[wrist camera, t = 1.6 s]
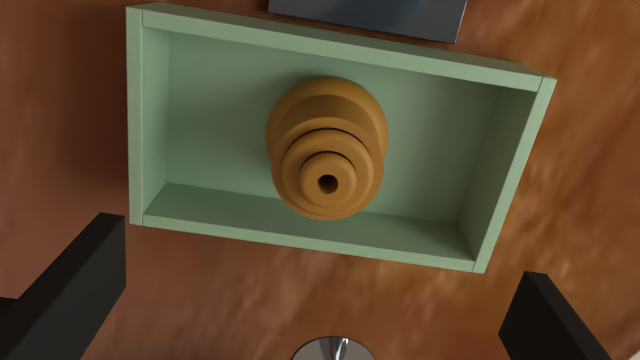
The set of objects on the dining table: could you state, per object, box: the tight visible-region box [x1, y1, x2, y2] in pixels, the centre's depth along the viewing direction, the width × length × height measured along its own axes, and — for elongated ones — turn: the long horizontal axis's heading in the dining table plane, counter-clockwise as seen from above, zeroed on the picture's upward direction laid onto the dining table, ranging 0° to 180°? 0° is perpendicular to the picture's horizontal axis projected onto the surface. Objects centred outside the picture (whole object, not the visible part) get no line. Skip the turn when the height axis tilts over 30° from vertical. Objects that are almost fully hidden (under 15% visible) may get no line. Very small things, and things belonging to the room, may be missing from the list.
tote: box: [126, 2, 557, 274], centre depth 27 cm, size 22×12×5 cm, turn 81°
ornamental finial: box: [266, 76, 388, 220], centre depth 25 cm, size 8×8×8 cm
